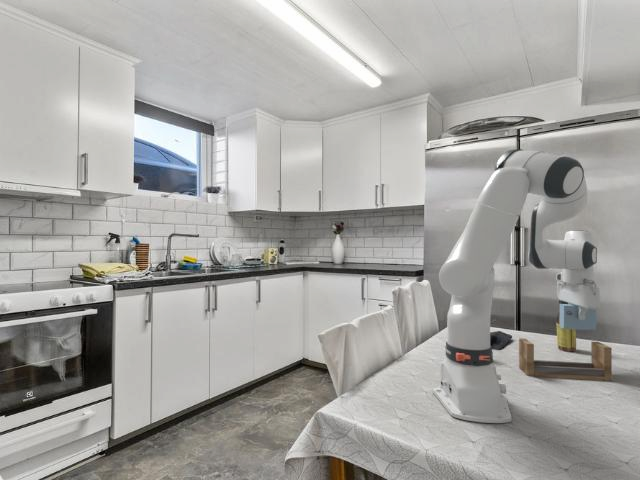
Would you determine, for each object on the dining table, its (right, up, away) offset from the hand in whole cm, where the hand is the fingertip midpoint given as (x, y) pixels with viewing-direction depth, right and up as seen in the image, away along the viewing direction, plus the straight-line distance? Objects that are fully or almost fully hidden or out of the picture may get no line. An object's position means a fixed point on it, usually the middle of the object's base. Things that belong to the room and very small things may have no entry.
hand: (577, 317), depth 123 cm
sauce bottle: (+9, -17, +19) cm, 27 cm away
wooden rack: (-10, -17, -7) cm, 20 cm away
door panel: (0, -4, 0) cm, 4 cm away
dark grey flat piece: (-15, -18, +30) cm, 38 cm away
